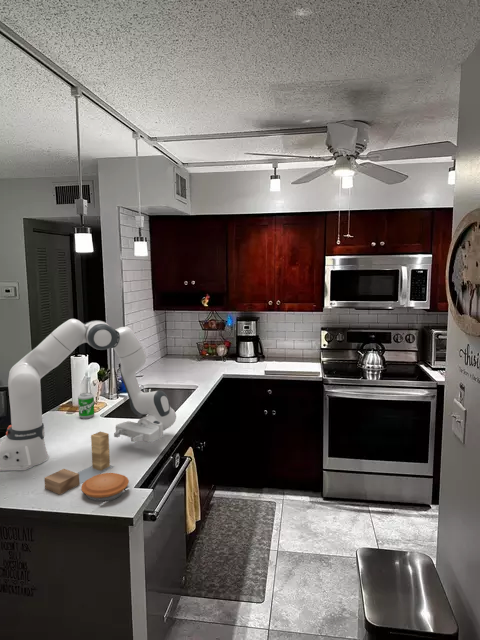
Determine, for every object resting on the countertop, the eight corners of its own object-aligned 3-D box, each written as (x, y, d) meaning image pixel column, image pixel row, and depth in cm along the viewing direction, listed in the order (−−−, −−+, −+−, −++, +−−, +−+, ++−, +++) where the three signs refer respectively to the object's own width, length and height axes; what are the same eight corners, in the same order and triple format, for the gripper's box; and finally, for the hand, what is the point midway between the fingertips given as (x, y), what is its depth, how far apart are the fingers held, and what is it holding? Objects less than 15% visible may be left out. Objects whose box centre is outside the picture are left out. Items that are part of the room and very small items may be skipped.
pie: (72, 503, 147) (71, 489, 146) (95, 481, 162) (94, 468, 161) (117, 507, 144) (116, 493, 144) (135, 484, 159) (135, 471, 159)
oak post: (100, 470, 168) (99, 437, 166) (92, 468, 170) (91, 435, 169) (109, 466, 172) (108, 433, 170) (101, 463, 174) (100, 431, 172)
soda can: (76, 416, 230) (75, 394, 229) (90, 413, 235) (89, 391, 234) (82, 420, 224) (81, 397, 223) (96, 417, 229) (95, 394, 228)
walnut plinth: (60, 494, 151) (59, 483, 150) (44, 488, 155) (44, 477, 154) (79, 484, 157) (78, 473, 157) (64, 479, 161) (63, 468, 161)
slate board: (61, 496, 151) (61, 493, 151) (46, 490, 155) (46, 487, 155) (114, 468, 172) (114, 466, 171) (100, 463, 176) (100, 461, 176)
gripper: (129, 415, 197) (105, 425, 185) (165, 424, 186) (142, 435, 175) (129, 429, 198) (105, 440, 186) (165, 438, 187) (142, 450, 175)
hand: (123, 437), depth 180 cm, fingers open, 8 cm apart
